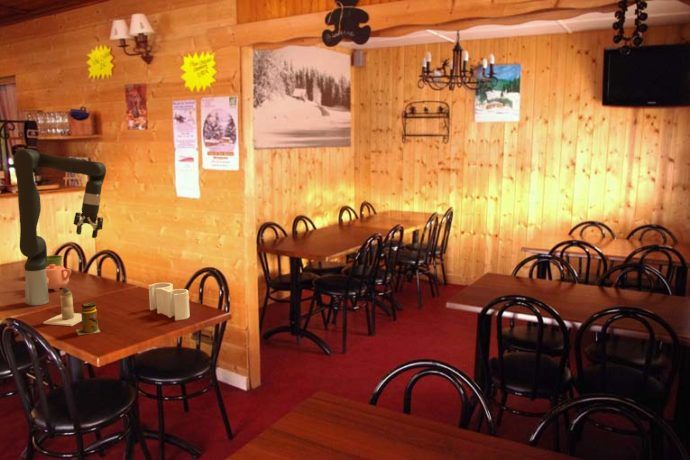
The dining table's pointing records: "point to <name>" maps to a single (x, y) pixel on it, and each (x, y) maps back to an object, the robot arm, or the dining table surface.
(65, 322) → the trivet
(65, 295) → the pepper mill
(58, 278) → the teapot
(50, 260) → the plant pot
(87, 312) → the condiment
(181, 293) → the cream triple cylinder
